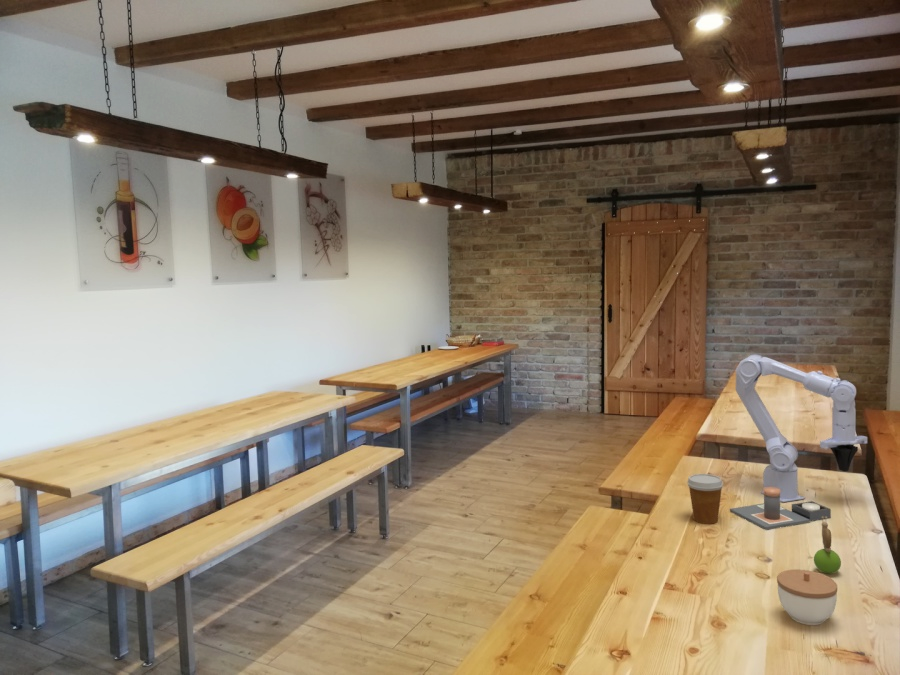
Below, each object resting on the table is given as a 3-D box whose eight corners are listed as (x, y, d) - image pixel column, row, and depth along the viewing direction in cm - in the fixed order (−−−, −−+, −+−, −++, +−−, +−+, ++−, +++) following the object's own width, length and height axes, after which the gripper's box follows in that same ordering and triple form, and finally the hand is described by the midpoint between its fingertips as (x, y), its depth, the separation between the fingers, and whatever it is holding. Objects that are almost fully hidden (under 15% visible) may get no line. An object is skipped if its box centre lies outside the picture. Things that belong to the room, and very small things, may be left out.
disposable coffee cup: (687, 524, 186) (686, 482, 185) (688, 512, 195) (687, 472, 194) (724, 527, 183) (723, 485, 181) (724, 515, 191) (723, 474, 190)
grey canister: (760, 515, 187) (760, 488, 186) (772, 513, 188) (772, 485, 187) (771, 521, 183) (771, 492, 182) (784, 518, 184) (783, 490, 183)
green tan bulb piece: (837, 566, 157) (837, 516, 155) (843, 578, 151) (843, 527, 149) (811, 564, 158) (811, 515, 157) (816, 576, 152) (816, 525, 151)
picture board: (729, 511, 194) (729, 508, 194) (771, 504, 197) (771, 501, 197) (765, 530, 180) (765, 526, 179) (809, 522, 183) (809, 519, 183)
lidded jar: (811, 637, 128) (811, 590, 128) (765, 612, 138) (764, 568, 137) (849, 622, 133) (850, 577, 132) (802, 599, 142) (802, 557, 142)
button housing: (791, 513, 190) (791, 504, 190) (811, 509, 192) (811, 501, 192) (810, 521, 184) (810, 512, 183) (830, 518, 185) (830, 508, 185)
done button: (798, 509, 189) (798, 504, 189) (811, 507, 190) (811, 502, 190) (810, 514, 185) (810, 509, 185) (823, 512, 186) (823, 507, 186)
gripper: (833, 429, 186) (833, 477, 187) (876, 424, 189) (876, 470, 191) (814, 424, 193) (814, 470, 194) (855, 419, 196) (855, 464, 198)
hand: (843, 470), depth 193 cm, fingers closed
